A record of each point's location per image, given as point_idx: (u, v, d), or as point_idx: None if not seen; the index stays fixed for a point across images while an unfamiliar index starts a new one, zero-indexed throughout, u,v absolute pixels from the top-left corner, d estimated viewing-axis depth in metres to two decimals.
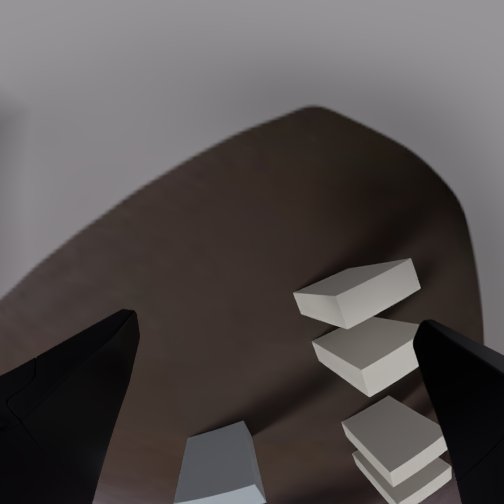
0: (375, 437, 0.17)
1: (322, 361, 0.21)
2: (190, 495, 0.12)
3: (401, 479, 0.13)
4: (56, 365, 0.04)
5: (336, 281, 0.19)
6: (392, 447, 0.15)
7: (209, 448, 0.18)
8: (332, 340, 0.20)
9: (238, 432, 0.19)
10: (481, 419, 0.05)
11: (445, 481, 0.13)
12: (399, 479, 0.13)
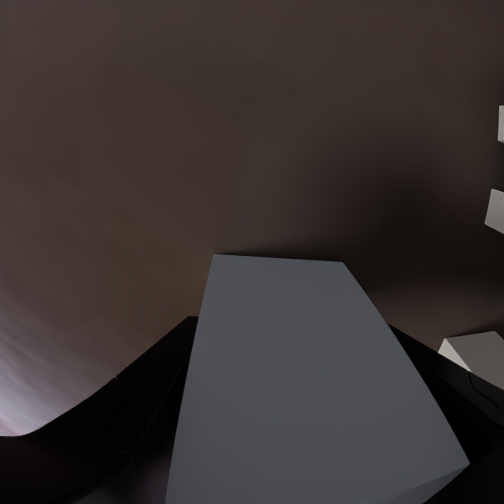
0: (499, 387, 0.09)
1: (499, 227, 0.10)
2: (242, 482, 0.03)
3: None
4: (146, 384, 0.05)
5: None
6: None
7: (277, 297, 0.08)
8: None
9: (344, 283, 0.10)
10: None
11: None
12: None
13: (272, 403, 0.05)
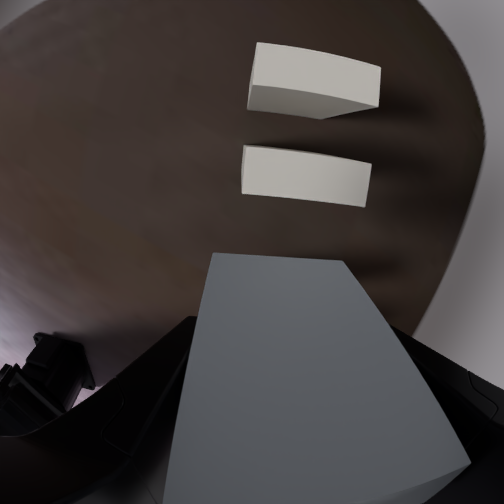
0: None
1: None
2: (241, 481, 0.03)
3: None
4: (146, 384, 0.05)
5: None
6: None
7: (277, 295, 0.08)
8: (261, 146, 0.17)
9: (344, 281, 0.10)
10: None
11: None
12: None
13: (271, 402, 0.05)
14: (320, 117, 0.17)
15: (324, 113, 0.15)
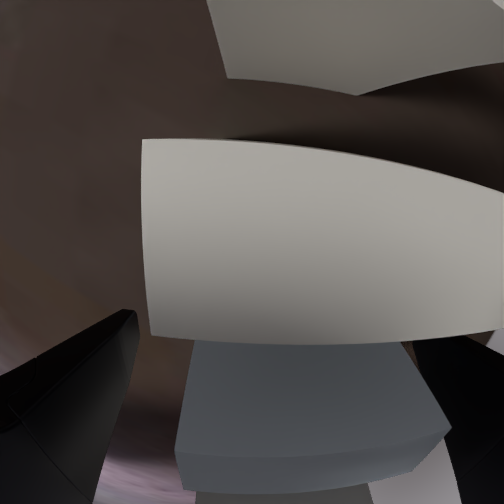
0: None
1: None
2: (244, 430, 0.04)
3: None
4: (56, 365, 0.04)
5: None
6: None
7: None
8: None
9: None
10: (480, 419, 0.05)
11: None
12: None
13: (270, 365, 0.06)
14: (360, 90, 0.09)
15: (377, 76, 0.07)
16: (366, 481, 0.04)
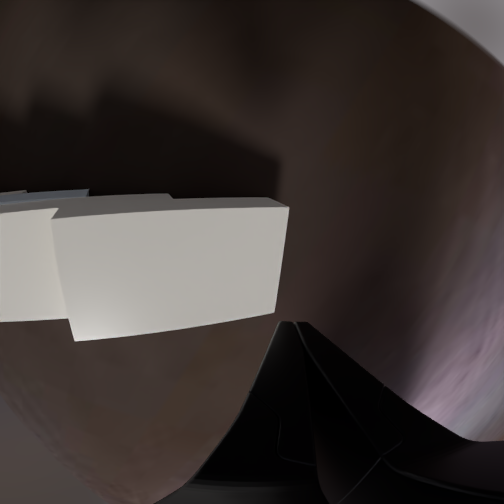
0: None
1: None
2: None
3: None
4: (287, 394, 0.05)
5: None
6: None
7: None
8: None
9: None
10: (335, 459, 0.05)
11: (54, 234, 0.09)
12: None
13: None
14: None
15: None
16: None
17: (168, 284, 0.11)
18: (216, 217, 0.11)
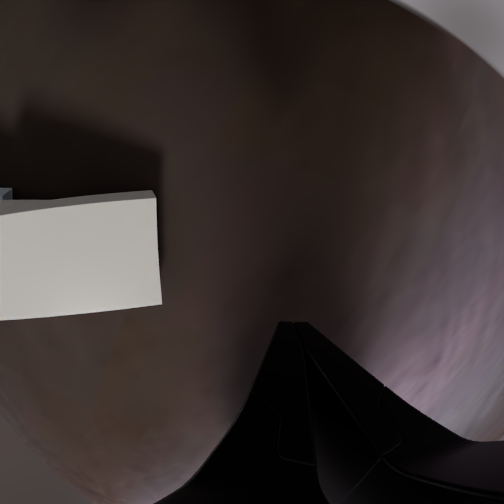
0: None
1: None
2: None
3: None
4: (287, 394, 0.05)
5: None
6: None
7: None
8: None
9: None
10: (336, 458, 0.05)
11: None
12: None
13: None
14: None
15: None
16: None
17: (53, 273, 0.11)
18: (84, 212, 0.10)
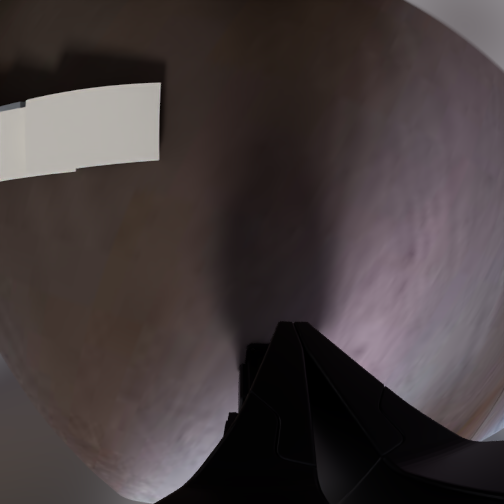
0: None
1: None
2: None
3: None
4: (287, 394, 0.05)
5: None
6: None
7: None
8: None
9: None
10: (335, 458, 0.05)
11: (27, 110, 0.13)
12: None
13: None
14: None
15: None
16: None
17: (82, 133, 0.15)
18: (111, 90, 0.14)
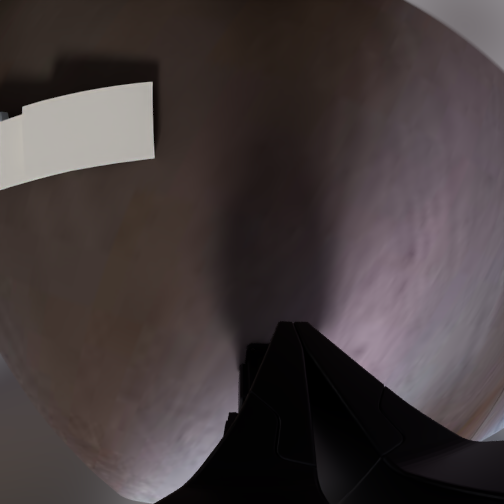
0: None
1: None
2: None
3: None
4: (287, 394, 0.05)
5: None
6: None
7: None
8: None
9: None
10: (335, 458, 0.05)
11: (24, 116, 0.13)
12: None
13: None
14: None
15: None
16: None
17: (78, 135, 0.15)
18: (104, 92, 0.14)
